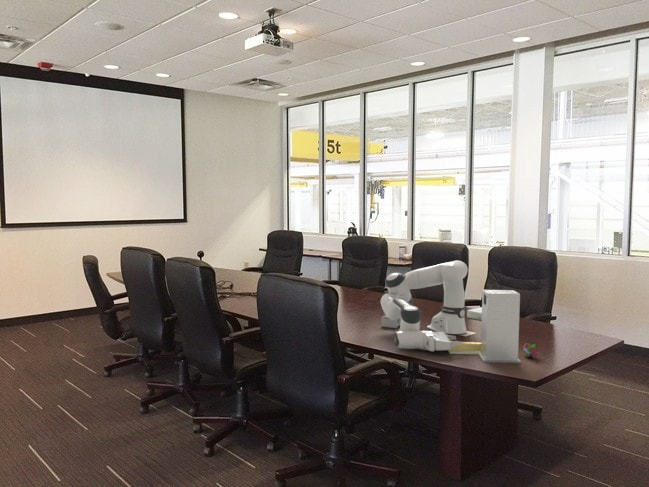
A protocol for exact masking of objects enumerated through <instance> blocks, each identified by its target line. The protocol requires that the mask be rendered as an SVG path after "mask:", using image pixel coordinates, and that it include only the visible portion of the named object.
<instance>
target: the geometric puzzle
mask: <svg viewBox="0 0 649 487" xmlns="http://www.w3.org/2000/svg"><path fill="white" fill-rule="evenodd" d="M535 347H536V349H535ZM522 351H523V352H524V353H525V355H524V358H528V359H529V357H531V358H532V359H534V360H535V359H536V357H537V355H538V353H539V352H540V351H539V349H537V344H536V343H534V344H533V343H532V344H530V343H528V342H525V344H524V345H523V348H522Z"/></svg>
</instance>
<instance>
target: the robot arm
mask: <svg viewBox="0 0 649 487" xmlns="http://www.w3.org/2000/svg"><path fill="white" fill-rule="evenodd" d="M468 271H469V270H468V266H467V264H466V263H465V262H463V261H462V260H456V259H455V260H453V261H448V262H444V263H443V262H442V263H439V264H436V265H431V266H426V267H421V268H417V269H413V270H410V271H408V272H406V273H403V272H392V273H389V274H388V275H387V276H386V277H385V278H384V283H385V286H386V288H387V291H388V293H385V294H383V295H382V297H381V298H380V306H381V308H382V310H383V313H384V315H387V317H388V318H390V319H392V320H398V319H401V322H400V326H399V329H398V331H395V332H394V334H393V340H394V341H393V342H394V345H395V347H396V348H400V349H403V350H405V349H406V350H415V349H420V350H425V351H427V350H428V351H429V352H435V351H448V350H450V349H451V346H459V345H460V342H461V341H460V340H457V337H456V335H462V334H467V333H468V330H467V327H466V320H465V319H466V318H465V315H466V306H465V300H466V299H465V298H466V294H465V292H466V291H465V289H464V280H463V279H465V277H466V276H467V274H468ZM442 284H443V285H442ZM439 285H442V286H443V304H442V305H441V306H439V307H440V309H441V311H440V312H438V313H437V314H435V315H434V316H433V317H432V319H431V322H430V324H429V325H427V326H426V328H427V329H429V330H420V329H421V319H422V311H421V310H420V309H419V308H418V307H417V306H415V305H413V302H414V298H413V295H412V294H411V290H413V289H415V290H417V289H424V288H429V287H435V286H439ZM452 341H454V342H452Z"/></svg>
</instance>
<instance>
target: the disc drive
mask: <svg viewBox="0 0 649 487" xmlns="http://www.w3.org/2000/svg"><path fill="white" fill-rule="evenodd" d="M466 318H469V319H474V320H480V321H482V306H480V307H477V308H472V309H467V310H466Z"/></svg>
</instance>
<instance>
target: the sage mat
mask: <svg viewBox="0 0 649 487" xmlns="http://www.w3.org/2000/svg"><path fill="white" fill-rule="evenodd" d="M447 351H448V354H450V355H478V353H481V351H450V350H447Z"/></svg>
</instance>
